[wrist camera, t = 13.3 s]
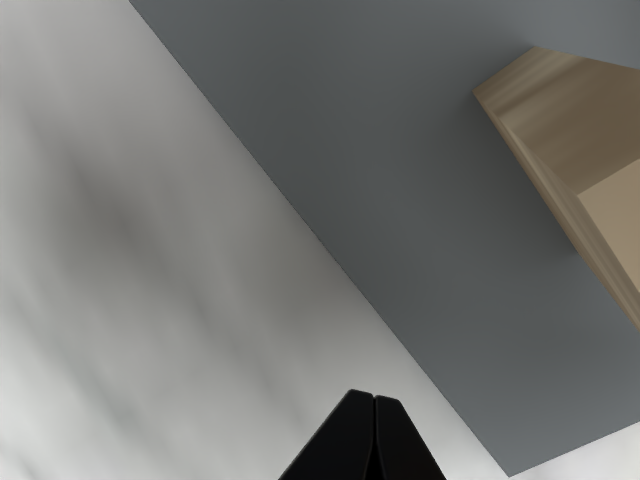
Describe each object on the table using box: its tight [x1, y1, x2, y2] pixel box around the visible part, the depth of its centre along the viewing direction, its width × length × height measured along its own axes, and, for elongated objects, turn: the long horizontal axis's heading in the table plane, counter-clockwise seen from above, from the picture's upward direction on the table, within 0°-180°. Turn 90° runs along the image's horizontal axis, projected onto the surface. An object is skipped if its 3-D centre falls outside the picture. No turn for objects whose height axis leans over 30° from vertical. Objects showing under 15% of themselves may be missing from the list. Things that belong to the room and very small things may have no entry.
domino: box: [472, 46, 640, 333], centre depth 9 cm, size 2×5×8 cm, turn 38°
